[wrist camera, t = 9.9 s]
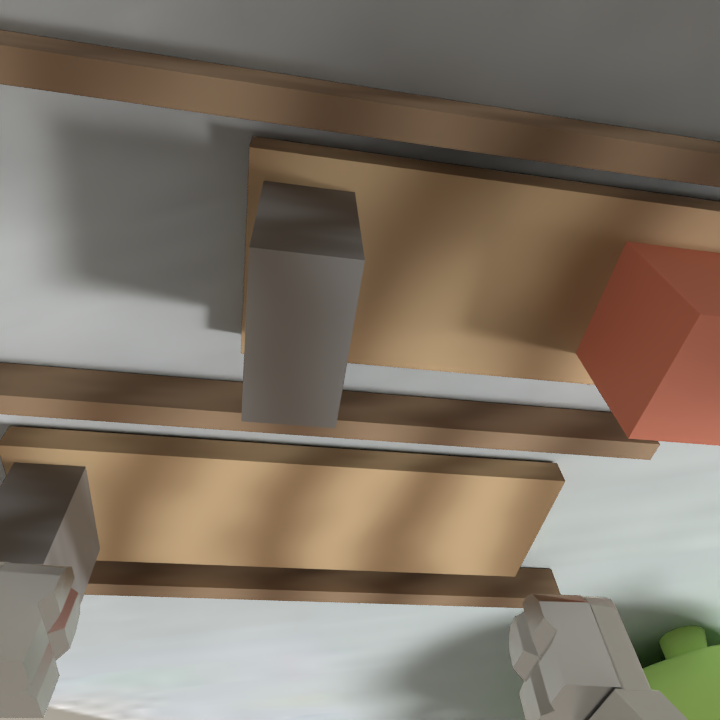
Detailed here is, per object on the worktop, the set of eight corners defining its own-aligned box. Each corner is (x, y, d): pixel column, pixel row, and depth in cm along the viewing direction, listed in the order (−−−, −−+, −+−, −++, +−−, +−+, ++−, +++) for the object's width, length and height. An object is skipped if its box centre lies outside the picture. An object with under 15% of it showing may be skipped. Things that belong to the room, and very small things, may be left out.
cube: (750, 256, 22) (849, 330, 18) (686, 364, 24) (759, 448, 20) (626, 241, 21) (700, 314, 17) (575, 353, 24) (628, 438, 20)
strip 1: (923, 230, 23) (1094, 313, 18) (802, 387, 27) (910, 489, 22) (252, 136, 19) (230, 207, 14) (243, 336, 24) (224, 443, 19)
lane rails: (791, 153, 21) (831, 171, 19) (545, 578, 36) (556, 609, 34) (-217, -4, 16) (-275, 3, 15) (-13, 557, 31) (-31, 591, 30)
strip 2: (556, 463, 29) (605, 571, 24) (509, 558, 34) (542, 665, 29) (9, 426, 26) (-65, 543, 21) (39, 537, 30) (-16, 656, 25)
